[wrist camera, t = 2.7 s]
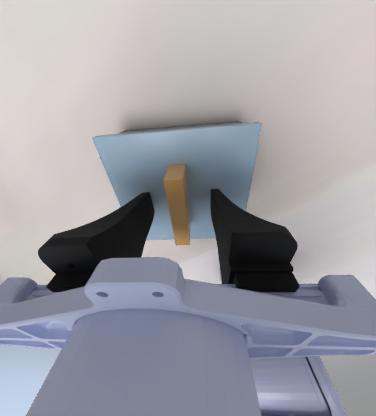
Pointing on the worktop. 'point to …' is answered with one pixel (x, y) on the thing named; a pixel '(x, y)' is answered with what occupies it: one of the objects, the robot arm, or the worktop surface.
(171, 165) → the lid
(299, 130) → the worktop surface
